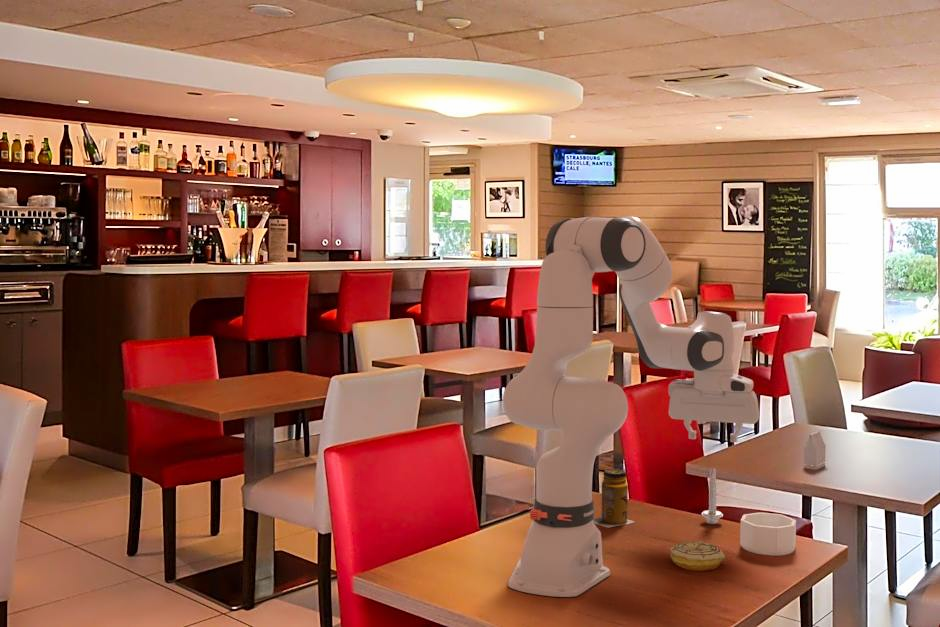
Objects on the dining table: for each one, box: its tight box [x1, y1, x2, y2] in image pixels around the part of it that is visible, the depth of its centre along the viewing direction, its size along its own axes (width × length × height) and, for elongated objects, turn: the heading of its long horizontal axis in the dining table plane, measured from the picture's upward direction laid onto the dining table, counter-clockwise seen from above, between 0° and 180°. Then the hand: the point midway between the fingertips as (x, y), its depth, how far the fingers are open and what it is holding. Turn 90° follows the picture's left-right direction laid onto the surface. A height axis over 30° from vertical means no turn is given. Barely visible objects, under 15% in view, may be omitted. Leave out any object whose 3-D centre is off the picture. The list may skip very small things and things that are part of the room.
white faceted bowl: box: [739, 511, 797, 557], centre depth 205 cm, size 11×11×6 cm
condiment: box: [593, 468, 635, 529], centre depth 225 cm, size 7×8×12 cm
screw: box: [701, 467, 724, 525], centre depth 223 cm, size 13×5×5 cm
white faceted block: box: [803, 430, 827, 471], centre depth 278 cm, size 4×7×10 cm, turn 139°
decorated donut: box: [669, 541, 726, 572], centre depth 195 cm, size 10×11×4 cm
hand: (712, 440), depth 222 cm, fingers open, 8 cm apart
